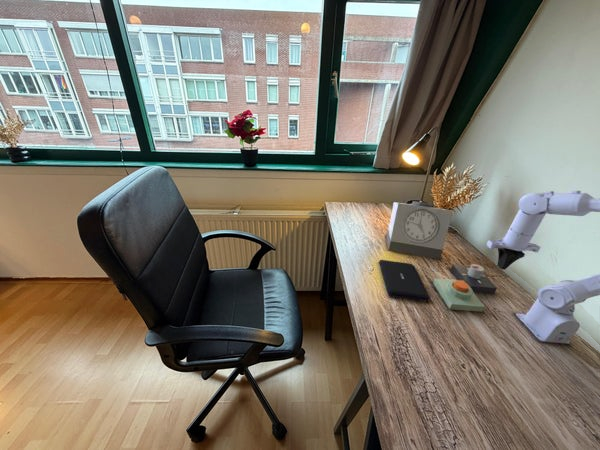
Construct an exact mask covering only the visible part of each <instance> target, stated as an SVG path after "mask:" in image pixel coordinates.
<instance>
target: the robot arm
mask: <svg viewBox="0 0 600 450" xmlns="http://www.w3.org/2000/svg"><path fill="white" fill-rule="evenodd" d="M518 208H519V209H518V211H517V213H516V214H515V216H514V218H513V220H512V223H511V224H510V226H509V228H508V230H507V232H506V234H505V236H503V237H502V238H499V239H492V240H491V239H489V240H487V242H486V247H487V248H489V249H491V250H493V249H497V253H498V255H497V256H498V259H497V264H496V266H497V267H498V268H499V269H500V270H507V269H508V268H509V267H510V266H511V265H512V264H513V263H516V262H517V261H518V260H520V259H523V258H524V257H525V256H526V253H524V252H526V251H528V252H534V253H539V251H540V249H541V246H540V245H538V244H537V243H533V242H531V241H532V239H533V237H534V235H535V233H536V232H537V230H538V228H539V227H540V225H541V224H542V221H543V220H544V218H545V216H546V215H555V216H556V215H559V216H570V217H571V216H573V217H584V216H586V215H588V214H590V213H591V212H594V213H600V198H595V197H593V196H592V195H590V194H589V193H588V192H582V191H581V190H571V191H570V192H555V191H553V190H552V191H551V190H549V191H546V192H544V191H543V192H533V193H532V192H531V193H528V194H525V195H523V196H521V198H520V199H519V201H518ZM537 296H538V297H537V298H536V299H535V301H534V303H532V305H531V307H530V308H529V310H528V311H527V312H526V313H516V314H515V315H516V317H517V318H518V319H519V320H520V322H522V324H523V325H524V326H526V328H528V330H529V331H530V332H531V333H532V334H533V335H534V336H535V337H536V339H537V340H539V341H540V342H544V343H553V344H565V345H566V344H567V345H568V344H570V343H571V341H570V339H571V338H573V336H574V335H575V334H576V333H577V331H579V329H580V326H581V325H580V323H579V321H578V320H577V319H576V317H575V315H574V313H575V310H576V306H575V305H577V304H580V303H584V302H585V301H587V299H591V298H593V297H597V296H600V272H597V273H596V274H593V275H590V276H586V277H582V278H580V279H575V280H574V279H563V280H560V281H559V282H556V283H553V284H550V285H546V286H542V287H541V288H539V290H538V292H537Z"/></svg>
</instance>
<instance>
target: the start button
mask: <svg viewBox="0 0 600 450" xmlns="http://www.w3.org/2000/svg"><path fill="white" fill-rule="evenodd" d="M455 280H456V281H455V282H454V284H453V287H454V288H455V289H456V290H458V291H460V292H467V290H468V288H469V285H468V284H467V283H465V282H464V281H461V280H458V279H455Z"/></svg>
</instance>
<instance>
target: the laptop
mask: <svg viewBox="0 0 600 450" xmlns="http://www.w3.org/2000/svg"><path fill="white" fill-rule="evenodd" d="M378 264H379V267H380V271H381V274H382V275H381V276H382V278H383V282H384V285H385V289H386V293H387V295H388V296H389V297H393V298H399V299H407V300H414V301H422V302H428V301H431V298H430V295H429V292H428V291H427V289H426V287H425V285H424V283H423V281H422V279H421V276H420V275H419V273H418V270H417V268H416V267H415V265H413V263H409V262H402V261H394V260H386V259H380V260H379V261H378Z"/></svg>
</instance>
